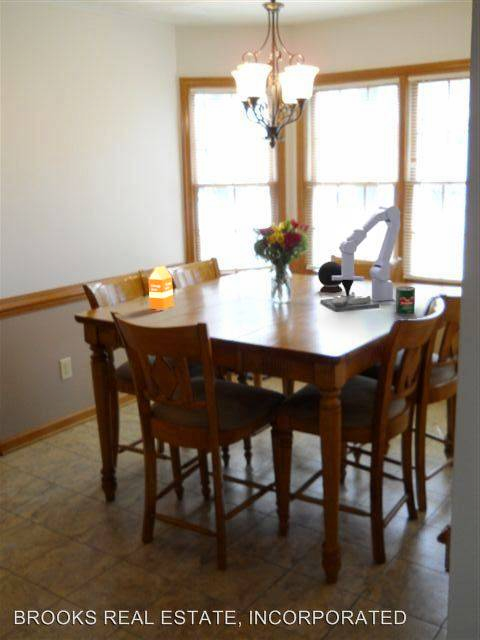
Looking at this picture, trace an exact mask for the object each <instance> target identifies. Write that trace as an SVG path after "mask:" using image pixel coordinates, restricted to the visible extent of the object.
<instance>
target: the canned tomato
mask: <svg viewBox="0 0 480 640" xmlns="http://www.w3.org/2000/svg"><path fill="white" fill-rule="evenodd" d="M415 290H416V287H413V286H406V285H405V286H398V287H396V289H395V314H396V315H398V316H412V315H415V302H416V301H415V300H416V298H415V297H416V291H415Z"/></svg>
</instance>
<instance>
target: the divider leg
mask: <svg viewBox="0 0 480 640" xmlns="http://www.w3.org/2000/svg"><path fill="white" fill-rule="evenodd" d="M345 296H346V302H347V298H355V297H356V293H355V292H354V291H351V292H350V293H349V295H346V294H345Z"/></svg>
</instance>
